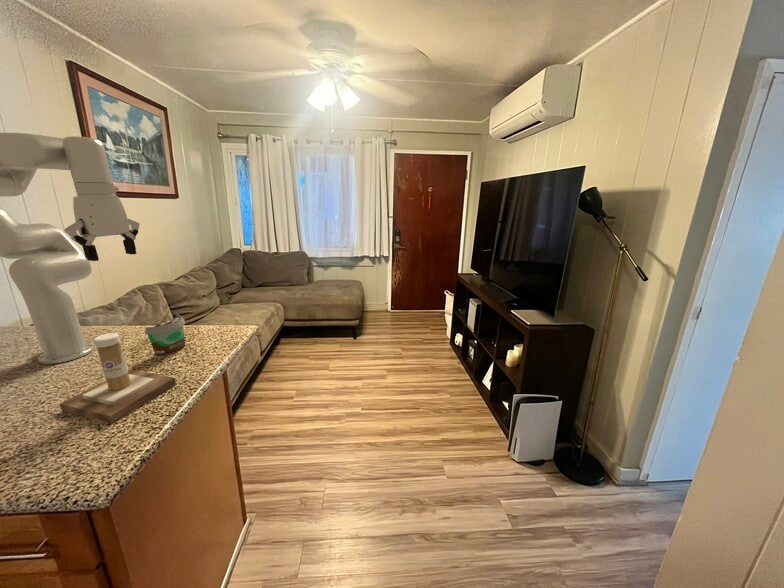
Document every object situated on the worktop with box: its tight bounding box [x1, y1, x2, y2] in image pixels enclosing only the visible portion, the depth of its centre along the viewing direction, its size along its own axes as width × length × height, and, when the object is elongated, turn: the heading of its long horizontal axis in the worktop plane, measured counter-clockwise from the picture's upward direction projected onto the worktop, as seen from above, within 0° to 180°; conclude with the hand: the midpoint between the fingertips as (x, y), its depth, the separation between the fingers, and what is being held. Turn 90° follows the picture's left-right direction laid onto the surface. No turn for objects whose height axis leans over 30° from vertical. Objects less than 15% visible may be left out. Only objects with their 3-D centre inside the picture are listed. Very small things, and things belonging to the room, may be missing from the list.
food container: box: [144, 313, 186, 356], centre depth 104 cm, size 12×6×10 cm, turn 168°
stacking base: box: [59, 368, 177, 424], centre depth 81 cm, size 16×16×3 cm
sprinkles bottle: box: [93, 332, 131, 390], centre depth 79 cm, size 5×5×14 cm
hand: (113, 257), depth 88 cm, fingers open, 9 cm apart
